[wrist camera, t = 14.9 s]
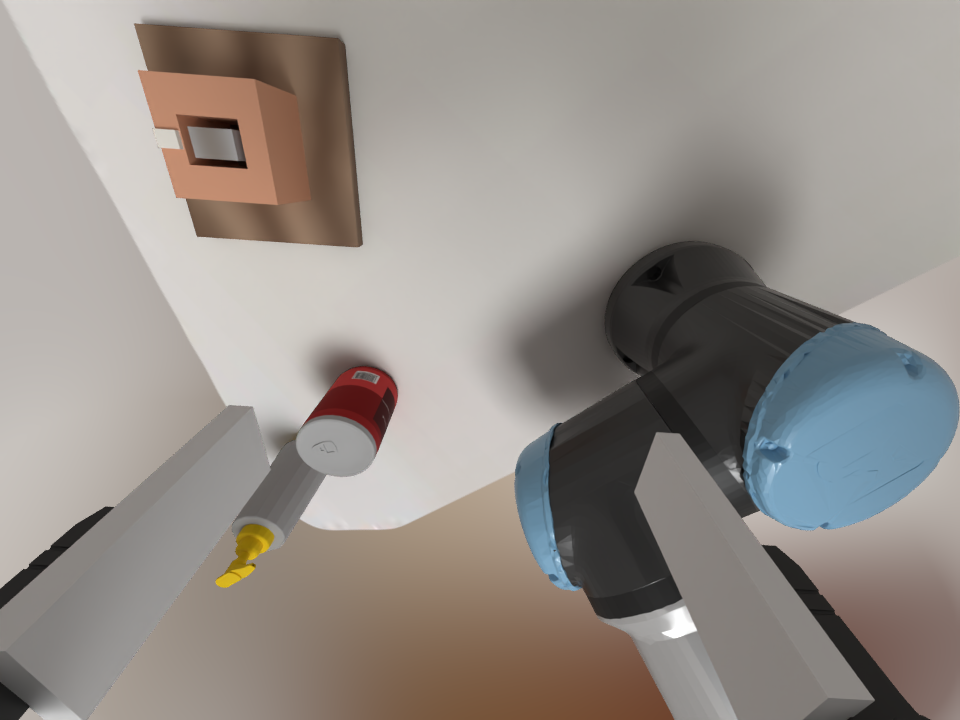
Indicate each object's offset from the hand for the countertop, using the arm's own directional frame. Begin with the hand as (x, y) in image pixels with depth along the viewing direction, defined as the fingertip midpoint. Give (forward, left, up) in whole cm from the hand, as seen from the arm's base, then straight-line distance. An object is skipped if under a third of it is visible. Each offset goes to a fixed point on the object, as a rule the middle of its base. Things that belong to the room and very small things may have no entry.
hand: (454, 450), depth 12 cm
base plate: (+20, -9, -29) cm, 36 cm away
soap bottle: (+22, +28, -29) cm, 46 cm away
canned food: (+13, +17, -29) cm, 36 cm away
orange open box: (+20, -9, -27) cm, 35 cm away
